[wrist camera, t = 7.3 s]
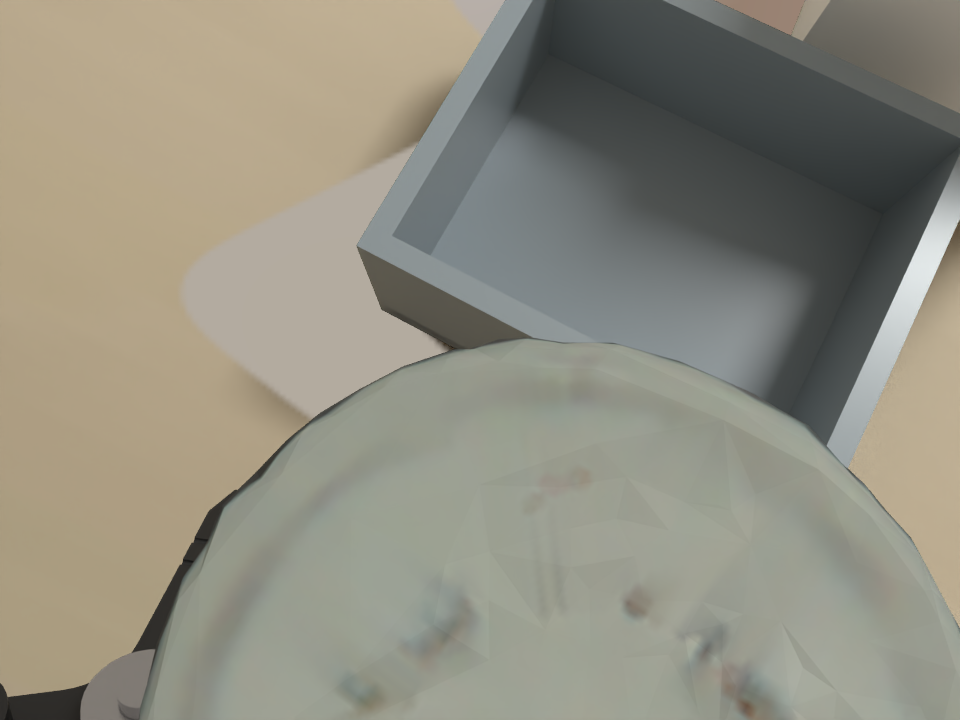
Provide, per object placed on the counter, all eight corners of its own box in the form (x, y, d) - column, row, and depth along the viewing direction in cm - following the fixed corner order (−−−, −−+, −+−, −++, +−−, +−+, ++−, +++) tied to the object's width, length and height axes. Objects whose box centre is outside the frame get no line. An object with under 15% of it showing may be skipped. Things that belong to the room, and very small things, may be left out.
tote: (381, 309, 34) (356, 245, 28) (538, 43, 37) (550, -76, 30) (762, 510, 33) (836, 494, 26) (899, 216, 35) (998, 131, 28)
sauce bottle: (631, 737, 23) (1601, 1738, 3) (385, 773, 22) (-157, 2096, 3) (589, 479, 24) (1086, 108, 5) (358, 510, 24) (-123, 251, 4)
